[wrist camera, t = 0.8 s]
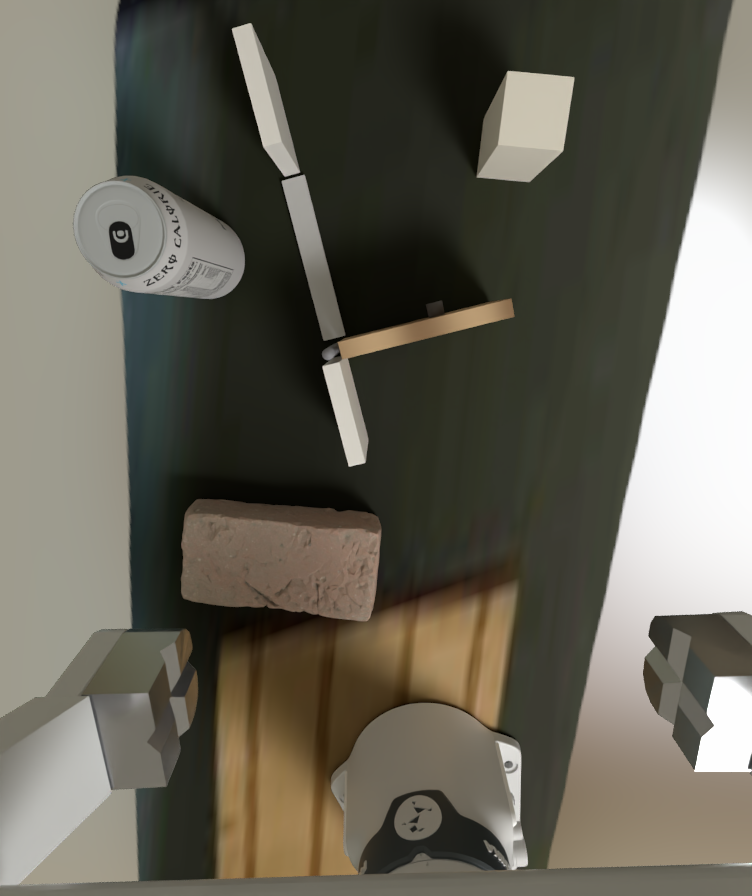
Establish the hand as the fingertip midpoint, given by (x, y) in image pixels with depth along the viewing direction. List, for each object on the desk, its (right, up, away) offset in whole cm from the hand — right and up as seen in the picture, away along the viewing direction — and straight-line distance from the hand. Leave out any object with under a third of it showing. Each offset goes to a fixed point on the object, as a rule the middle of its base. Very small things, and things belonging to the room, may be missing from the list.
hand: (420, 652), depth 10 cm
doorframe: (-5, +17, +33) cm, 38 cm away
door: (+3, +14, +33) cm, 36 cm away
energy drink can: (-14, +18, +33) cm, 41 cm away
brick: (-9, -5, +39) cm, 41 cm away
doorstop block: (+9, +26, +31) cm, 41 cm away
